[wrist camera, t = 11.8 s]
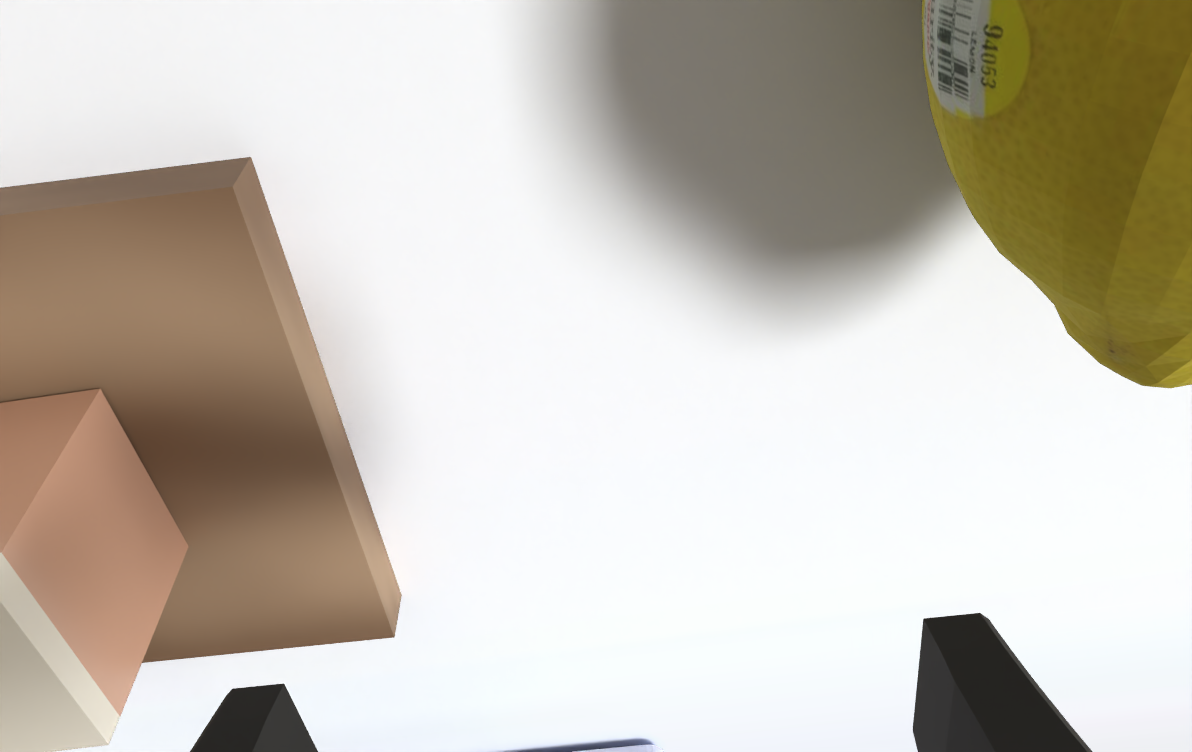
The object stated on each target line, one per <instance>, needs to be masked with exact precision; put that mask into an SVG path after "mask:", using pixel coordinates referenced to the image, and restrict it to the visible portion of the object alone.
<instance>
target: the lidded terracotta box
mask: <svg viewBox="0 0 1192 752" xmlns="http://www.w3.org/2000/svg"><path fill="white" fill-rule="evenodd" d="M188 547H189V546H188V544H187V542H186V541H185V539H184V537H183V535H182V533H181V532H180V530H179V528H178V526H177V525H176V523H175V521H174V519H173V517H172V516H171V514H170V512H169V510H168V509H167V507H166V505H165V503H164V501H163V500H162V498H161V496H160V494H159V492H158V491H157V489H156V487H155V485H154V484H153V482H152V480H151V478H150V476H149V475H148V473H147V471H146V469H145V467H144V466H143V464H142V462H141V460H140V459H139V457H138V455H137V453H136V451H135V450H134V448H133V446H132V444H131V443H130V441H129V439H128V437H127V435H126V434H125V432H124V430H123V428H122V426H121V425H120V423H119V421H118V419H117V418H116V416H115V414H114V412H113V410H112V409H111V407H110V405H109V403H108V402H107V400H106V398H105V396H104V394H103V393H102V391H101V389H94V390H87V391H80V392H73V393H66V394H59V395H52V396H45V397H38V398H31V399H24V400H17V401H10V402H3V403H0V752H53V751H61V750H70V749H78V748H87V747H95V746H103V745H109V743H110V740H111V738H112V735H113V733H114V730H115V728H116V725H117V723H118V721H119V718H120V716H121V713H122V711H123V708H124V706H125V703H126V701H127V698H128V696H129V693H130V691H131V688H132V686H133V683H134V681H135V678H136V676H137V673H138V671H139V668H140V666H141V663H142V661H143V659H144V656H145V654H146V651H147V649H148V646H149V644H150V641H151V639H152V636H153V634H154V631H155V629H156V626H157V624H158V621H159V619H160V616H161V614H162V611H163V609H164V606H165V604H166V601H167V599H168V597H169V594H170V592H171V589H172V587H173V584H174V582H175V579H176V577H177V574H178V572H179V569H180V567H181V564H182V562H183V559H184V557H185V554H186V552H187V549H188Z"/></svg>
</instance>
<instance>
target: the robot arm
mask: <svg viewBox="0 0 1192 752" xmlns="http://www.w3.org/2000/svg"><path fill="white" fill-rule="evenodd" d="M913 733H914V737H915V741H916V745H917V750H918V752H1092V751H1091V749H1090V748H1089V747H1088V746H1087V745H1086V744H1085V742H1084V741H1083V740H1082V739H1081V738H1080V736H1079V735H1078V734H1077V733H1076V732H1075V730H1074V729H1073V728H1072V727H1071V726H1070V724H1069V723H1068V722H1067V721H1066V719H1065V718H1064V717H1063V716H1062V714H1061V713H1060V712H1059V711H1058V709H1057V708H1056V707H1055V706H1054V705H1053V703H1052V702H1051V701H1050V700H1049V698H1048V697H1047V696H1046V695H1045V693H1044V692H1043V691H1042V690H1041V688H1040V687H1039V686H1038V684H1037V683H1036V682H1035V681H1034V679H1033V678H1032V677H1031V675H1030V674H1029V673H1028V672H1027V670H1026V669H1025V668H1024V666H1023V665H1022V664H1021V662H1020V661H1019V660H1018V658H1017V657H1016V656H1015V654H1014V653H1013V652H1012V650H1011V649H1010V648H1009V646H1008V645H1007V644H1006V642H1005V641H1004V640H1003V638H1002V637H1001V636H1000V634H999V633H998V631H997V630H996V629H995V627H994V626H993V624H992V623H991V622H990V620H989V619H988V618H986V617H985V616H983V615H982V614H981V613H975V614H966V615H956V616H946V617H936V618H926V619H923V629H922V640H921V650H920V660H919V671H918V681H917V691H916V702H915V712H914V722H913ZM190 752H318V751H317V749H316V747H315V745H314V743H313V741H312V739H311V737H310V735H309V733H308V731H307V729H306V727H305V725H304V723H303V721H302V719H301V717H300V715H299V713H298V711H297V709H296V707H295V705H294V703H293V701H292V699H291V697H290V695H289V693H288V691H287V689H286V687H285V685H284V684H276V685H266V686H256V687H246V688H236V689H232V690H231V691H230V692H229V693H228V694H227V696H226V697H225V698H224V700H223V702H222V703H221V705H220V706H219V708H218V709H217V711H216V712H215V714H214V715H213V717H212V718H211V720H210V722H209V723H208V725H207V726H206V728H205V729H204V731H203V732H202V734H201V736H200V737H199V739H198V740H197V742H196V743H195V745H194V746H193V748H192V750H191V751H190ZM574 752H664V751H663V749H661V748H660V747H658V746H655V745H636V746H626V747H615V748H605V749H595V750H584V751H574Z"/></svg>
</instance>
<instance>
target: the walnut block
mask: <svg viewBox="0 0 1192 752" xmlns="http://www.w3.org/2000/svg"><path fill="white" fill-rule="evenodd" d="M94 389H101V391H102V393H103V394H104V396H105V398H106V400H107V402H108V403H109V405H110V407H111V409H112V410H113V412H114V414H115V416H116V418H117V419H118V421H119V423H120V425H121V426H122V428H123V430H124V432H125V434H126V435H127V437H128V439H129V441H130V443H131V444H132V446H133V448H134V450H135V451H136V453H137V455H138V457H139V459H140V460H141V462H142V464H143V466H144V467H145V469H146V471H147V473H148V475H149V476H150V478H151V480H152V482H153V484H154V485H155V487H156V489H157V491H158V492H159V494H160V496H161V498H162V500H163V501H164V503H165V505H166V507H167V509H168V510H169V512H170V514H171V516H172V517H173V519H174V521H175V523H176V525H177V526H178V528H179V530H180V532H181V533H182V535H183V537H184V539H185V541H186V542H187V544H188V546H189V547H188V549H187V552H186V554H185V557H184V559H183V562H182V564H181V567H180V569H179V572H178V574H177V577H176V579H175V582H174V584H173V587H172V589H171V592H170V594H169V597H168V599H167V601H166V604H165V606H164V609H163V611H162V614H161V616H160V619H159V621H158V624H157V626H156V629H155V631H154V634H153V636H152V639H151V641H150V644H149V646H148V649H147V651H146V654H145V656H144V659H143V661H142V663H145V662H155V661H164V660H174V659H184V658H194V657H204V656H214V655H224V654H234V653H244V652H254V651H264V650H273V649H283V648H293V647H303V646H313V645H323V644H333V643H343V642H353V641H363V640H372V639H382V638H392V637H394V636H395V630H396V625H397V619H398V613H399V607H400V601H401V592H400V589H399V586H398V584H397V581H396V578H395V575H394V572H393V569H392V566H391V563H390V560H389V557H388V554H387V552H386V549H385V546H384V543H383V540H382V537H381V534H380V531H379V528H378V525H377V522H376V520H375V517H374V514H373V511H372V508H371V505H370V502H369V499H368V496H367V493H366V490H365V488H364V485H363V482H362V479H361V476H360V473H359V470H358V467H357V464H356V461H355V458H354V456H353V453H352V450H351V447H350V444H349V441H348V438H347V435H346V432H345V429H344V426H343V424H342V421H341V418H340V415H339V412H338V409H337V406H336V403H335V400H334V397H333V394H332V392H331V389H330V386H329V383H328V380H327V377H326V374H325V371H324V368H323V365H322V362H321V360H320V357H319V354H318V351H317V348H316V345H315V342H314V339H313V336H312V333H311V330H310V328H309V325H308V322H307V319H306V316H305V313H304V310H303V307H302V304H301V301H300V298H299V296H298V293H297V290H296V287H295V284H294V281H293V278H292V275H291V272H290V269H289V266H288V264H287V261H286V258H285V255H284V252H283V249H282V246H281V243H280V240H279V237H278V234H277V232H276V229H275V226H274V223H273V220H272V217H271V214H270V211H269V208H268V205H267V202H266V200H265V197H264V194H263V191H262V188H261V185H260V182H259V179H258V176H257V173H256V170H255V167H254V165H253V162H252V159H251V157H247V158H239V159H231V160H223V161H215V162H207V163H198V164H190V165H182V166H174V167H166V168H158V169H150V170H142V171H134V172H126V173H117V174H109V175H101V176H93V177H85V178H77V179H69V180H61V181H53V182H45V183H36V184H28V185H20V186H12V187H4V188H0V403H3V402H10V401H17V400H24V399H31V398H38V397H45V396H52V395H59V394H66V393H73V392H80V391H87V390H94Z"/></svg>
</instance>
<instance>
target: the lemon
mask: <svg viewBox="0 0 1192 752" xmlns="http://www.w3.org/2000/svg"><path fill="white" fill-rule="evenodd" d="M922 37H923V63H924V69H925V76H926V82H927V89H928V96H929V102H930V109H931V113H932V117H933V121H934V124H935V127H936V130H937V133H938V136H939V139H940V142H941V145H942V148H943V151H944V154H945V157H946V160H947V163H948V166H949V168H950V170H951V172H952V174H953V176H954V179H955V181H956V183H957V185H958V187H959V189H960V191H961V193H962V195H963V197H964V199H965V201H966V204H967V206H968V208H969V209H970V211H971V213H972V215H973V217H974V218H975V220H976V221H977V222H978V224H979V225H980V227H981V228H982V229H983V231H984V232H985V233H986V235H987V236H988V238H989V239H990V240H991V242H992V243H993V244H994V246H995V247H996V248H997V250H998V251H999V253H1001V254H1002V255H1003V256H1004V257H1005V258H1006V259H1008V260H1009V261H1010V262H1011V263H1012V264H1013V265H1014V266H1016V267H1017V268H1018V269H1019V270H1020V271H1021V272H1023V273H1024V274H1025V275H1026V276H1027V277H1028V278H1030V279H1031V280H1032V281H1033V282H1034V283H1035V285H1036V286H1037V287H1038V288H1039V289H1040V290H1041V291H1042V292H1043V293H1044V294H1045V295H1046V296H1047V297H1048V299H1049V300H1050V301H1051V302H1052V303H1053V304H1054V305H1055V307H1056V310H1057V312H1058V314H1059V316H1060V318H1061V320H1062V322H1063V324H1064V326H1065V328H1066V330H1067V333H1068V334H1069V335H1070V336H1071V337H1072V338H1073V339H1074V340H1075V341H1076V342H1078V343H1079V344H1080V345H1081V346H1082V347H1083V348H1084V349H1085V350H1086V351H1087V352H1088V353H1089V354H1090V355H1092V356H1093V357H1094V358H1095V359H1096V360H1097V361H1098V362H1099V363H1100V364H1102V365H1104V366H1105V367H1107V368H1109V369H1111V370H1112V371H1114V372H1116V373H1118V374H1119V375H1121V376H1123V377H1125V378H1127V379H1129V380H1131V381H1133V382H1136V383H1138V384H1140V385H1142V386H1151V387H1163V388H1174V387H1180V386H1185V385H1192V0H922Z"/></svg>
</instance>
